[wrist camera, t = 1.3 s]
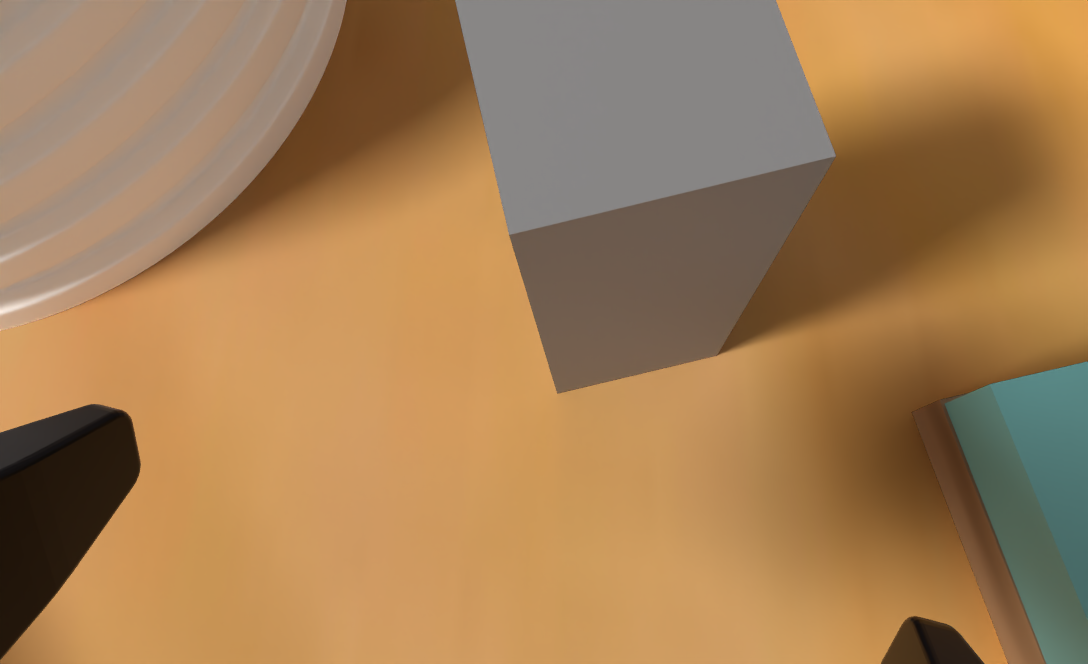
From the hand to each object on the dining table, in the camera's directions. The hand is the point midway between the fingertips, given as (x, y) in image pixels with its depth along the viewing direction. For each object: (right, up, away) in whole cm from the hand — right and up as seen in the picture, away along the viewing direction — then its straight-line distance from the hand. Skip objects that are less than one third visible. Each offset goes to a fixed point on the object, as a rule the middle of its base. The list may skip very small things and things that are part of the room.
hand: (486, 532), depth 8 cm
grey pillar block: (+3, +3, +15) cm, 15 cm away
